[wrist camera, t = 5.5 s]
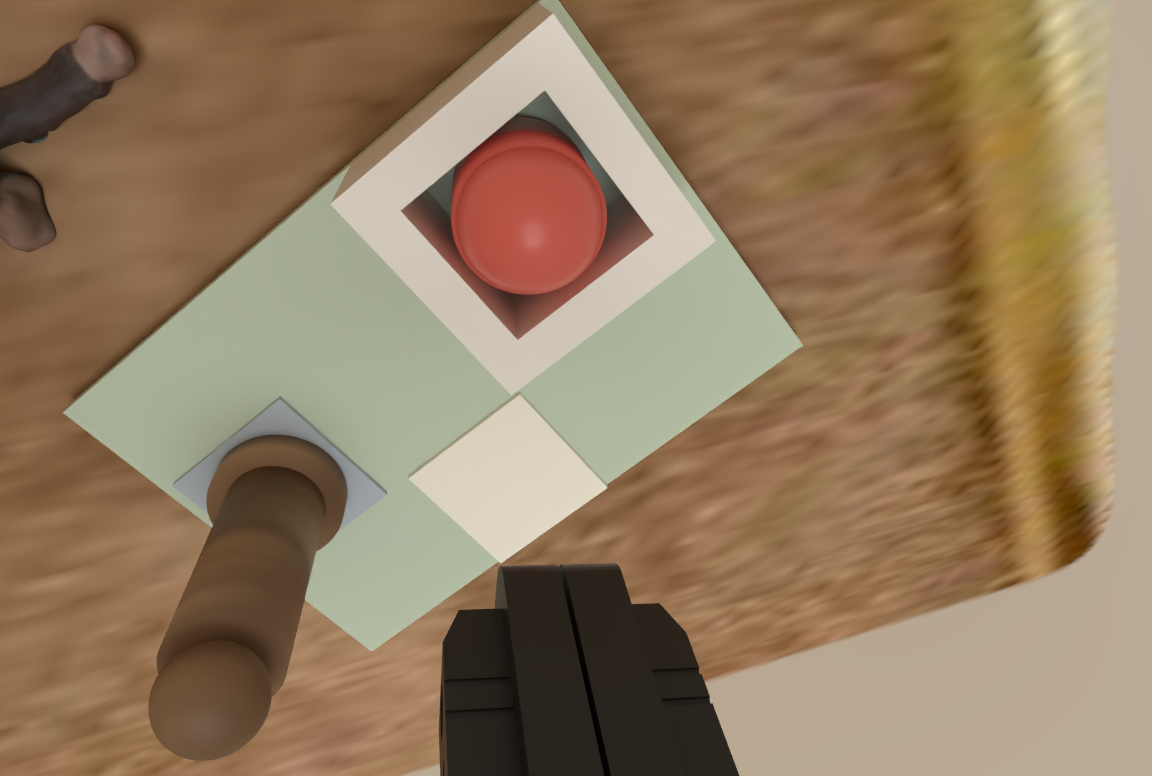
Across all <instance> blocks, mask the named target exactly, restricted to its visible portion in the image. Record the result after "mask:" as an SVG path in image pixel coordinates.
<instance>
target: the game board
mask: <svg viewBox="0 0 1152 776" xmlns="http://www.w3.org/2000/svg"><path fill="white" fill-rule="evenodd" d="M536 4H540V5H541V6H543V7H544V8H546V9H547V10H549V11H550V12H552V13H553V14H554V15H555V17H556V18H557V19H558V21H559V22H560V24H561V25H562V26H563V28H564V29H565V30H566V32H567V33H568V35H569V36H570V37H571V39H572V40H573V42H574V43H575V44H576V46H577V47H578V49H579V50H580V51H581V53H582V54H583V56H584V57H585V58H586V60H587V61H588V63H589V64H590V65H591V67H592V68H593V70H594V71H595V72H596V74H597V75H598V77H599V78H600V79H601V81H602V82H603V83H604V85H605V86H606V88H607V89H608V90H609V92H610V93H611V95H612V96H613V97H614V99H615V100H616V102H617V103H618V104H619V106H620V107H621V109H622V110H623V111H624V113H625V114H626V116H627V117H628V118H629V120H630V121H631V123H632V124H633V125H634V127H635V128H636V130H637V131H638V132H639V134H640V135H641V136H642V138H643V139H644V141H645V142H646V143H647V145H648V146H649V148H650V149H651V150H652V152H653V153H654V155H655V156H656V157H657V159H658V160H659V162H660V163H661V164H662V166H663V167H664V169H665V170H666V171H667V173H668V174H669V176H670V177H671V178H672V180H673V181H674V183H675V184H676V185H677V187H678V188H679V189H680V191H681V192H682V194H683V195H684V196H685V198H686V199H687V201H688V202H689V203H690V205H691V206H692V208H693V209H694V210H695V212H696V213H697V215H698V216H699V217H700V219H701V220H702V222H703V223H704V224H705V226H706V227H707V229H708V230H709V231H710V233H711V234H712V236H713V237H714V238H715V240H716V242H714V243H713V244H712V245H710V246H709V247H708V248H706V249H705V250H704V251H702V252H701V253H700V254H698V255H697V256H696V257H694V258H693V259H692V260H690V261H689V262H688V263H686V264H685V265H684V266H682V267H681V268H680V269H679V270H677V271H676V272H675V273H673V274H672V275H671V276H669V277H668V278H667V279H665V280H664V281H663V282H661V283H660V284H659V285H657V286H656V287H655V288H653V289H652V290H651V291H649V292H648V293H647V294H645V295H644V296H643V297H641V298H640V299H639V300H637V301H636V302H635V303H634V304H632V305H631V306H630V307H628V308H627V309H626V310H624V311H623V312H622V313H620V314H619V315H618V316H616V317H615V318H614V319H612V320H611V321H610V322H608V323H607V324H606V325H604V326H603V327H602V328H600V329H599V330H598V331H596V332H595V333H594V334H592V335H591V336H590V337H588V338H587V339H586V340H585V341H583V342H582V343H581V344H579V345H578V346H577V347H575V348H574V349H573V350H571V351H570V352H569V353H567V354H566V355H565V356H563V357H562V358H561V359H559V360H558V361H557V362H555V363H554V364H553V365H551V366H550V367H549V368H547V369H546V370H545V371H543V372H542V373H541V374H539V375H538V376H537V377H536V378H534V379H533V380H532V381H530V382H529V383H528V384H526V385H525V386H524V387H522V388H521V389H520V390H518V391H517V392H516V393H514V394H513V395H512V396H511V394H510V393H509V392H508V391H507V390H506V389H505V388H504V387H503V386H502V385H501V384H500V383H499V382H498V381H497V380H496V379H495V378H494V377H493V375H492V374H491V373H490V372H489V371H488V370H487V369H486V368H485V367H484V366H483V365H482V364H481V363H480V362H479V361H478V360H477V359H476V358H475V356H474V355H473V354H472V353H471V352H470V351H469V350H468V349H467V348H466V347H465V346H464V345H463V344H462V343H461V342H460V341H459V340H458V339H457V337H456V336H455V335H454V334H453V333H452V332H451V331H450V330H449V329H448V328H447V327H446V326H445V325H444V324H443V323H442V322H441V321H440V320H439V318H438V317H437V316H436V315H435V314H434V313H433V312H432V311H431V310H430V309H429V308H428V307H427V306H426V305H425V304H424V303H423V302H422V301H421V299H420V298H419V297H418V296H417V295H416V294H415V293H414V292H413V291H412V290H411V289H410V288H409V287H408V286H407V285H406V284H405V283H404V282H403V280H402V279H401V278H400V277H399V276H398V275H397V274H396V273H395V272H394V271H393V270H392V269H391V268H390V267H389V266H388V265H387V264H386V263H385V261H384V260H383V259H382V258H381V257H380V256H379V255H378V254H377V253H376V252H375V251H374V250H373V249H372V248H371V247H370V246H369V245H368V244H367V243H366V241H365V240H364V239H363V238H362V237H361V236H360V235H359V234H358V233H357V232H356V231H355V230H354V229H353V228H352V227H351V226H350V225H349V224H348V222H347V221H346V220H345V219H344V218H343V217H342V216H341V215H340V214H339V213H338V212H337V211H336V210H335V209H334V208H333V207H332V206H331V205H330V203H331V201H332V200H333V198H334V196H335V194H336V192H337V190H338V188H339V186H340V184H341V182H342V181H343V179H344V177H345V175H346V173H347V171H348V169H349V167H350V165H351V164H352V163H353V162H354V161H355V160H357V159H358V158H359V157H360V156H361V155H362V154H364V153H365V152H366V151H367V150H368V149H369V148H370V147H372V146H373V145H374V144H375V143H376V142H377V141H379V140H380V139H381V138H382V137H383V136H384V135H386V134H387V133H388V132H389V131H390V130H391V129H393V128H394V127H395V126H396V125H397V124H398V123H400V122H401V121H402V120H403V119H404V118H405V117H406V116H408V115H409V114H410V113H411V112H412V111H413V110H415V109H416V108H417V107H418V106H419V105H420V104H422V103H423V102H424V101H425V100H426V99H427V98H429V97H430V96H431V95H432V94H433V93H434V92H435V91H437V90H438V89H439V88H440V87H441V86H442V85H444V84H445V83H446V82H447V81H448V80H449V79H451V78H452V77H453V76H454V75H455V74H456V73H458V72H459V71H460V70H461V69H462V68H463V67H464V66H466V65H467V64H468V63H469V62H470V61H471V60H473V59H474V58H475V57H476V56H477V55H478V54H480V53H481V52H482V51H483V50H484V49H485V48H487V47H488V46H489V45H490V44H491V43H492V42H493V41H495V40H496V39H497V38H498V37H499V36H500V35H502V34H503V33H504V32H505V31H506V30H507V29H509V28H510V27H511V26H512V25H513V24H514V23H516V22H517V21H518V20H519V19H520V18H521V17H522V16H524V15H525V14H526V13H527V12H528V11H529V10H531V9H532V8H533V7H534V6H535V5H536ZM515 117H528V118H534V119H538V120H541V121H545V122H547V123H549V124H551V125H553V126H555V127H557V128H558V129H560V130H561V131H563V132H564V133H565V134H566V135H567V136H568V137H569V138H570V139H571V140H572V141H573V142H574V143H575V145H576V146H577V148H578V149H579V151H580V153H581V154H582V156H583V158H584V159H585V161H586V163H587V164H588V166H589V168H590V169H591V171H592V173H593V174H594V176H595V178H596V179H597V181H598V183H599V185H600V187H601V189H602V192H603V195H604V199H605V204H606V207H607V206H609V205H610V204H611V203H612V202H614V201H615V200H616V199H617V198H619V197H620V196H621V195H623V193H622V192H621V190H620V189H619V188H618V187H617V185H616V184H615V183H614V181H613V180H612V179H611V177H610V176H609V175H608V173H607V172H606V171H605V169H604V168H603V167H602V165H601V164H600V163H599V161H598V160H597V159H596V157H595V156H594V155H593V153H592V152H591V151H590V149H589V148H588V147H587V145H586V144H585V143H584V141H583V140H582V139H581V137H580V136H579V135H578V134H577V132H576V131H575V130H574V128H573V127H572V126H571V124H570V123H569V122H568V120H567V119H566V118H565V116H564V115H563V114H562V112H561V111H560V110H559V108H558V107H557V106H556V104H555V103H554V102H553V100H552V99H551V98H550V96H549V95H548V94H547V92H546V91H545V90H544V91H543V92H542V93H541V94H540V95H539V96H537V97H536V98H535V99H534V100H533V101H531V102H530V103H529V104H528V105H527V106H525V107H524V108H523V109H522V110H521V111H519V112H518V113H517V114H516V115H515V116H513V117H512V118H515ZM455 166H456V165H455ZM455 166H454V167H452V168H451V169H450V170H449V171H448V172H446V173H445V174H444V175H443V176H442V177H440V178H439V179H438V180H437V181H436V182H434V183H433V184H432V185H431V186H430V187H428V188H427V190H428V191H429V192H430V194H431V195H432V196H433V197H434V198H435V199H436V200H437V202H438V203H439V204H440V205H441V206H442V207H443V208H444V210H445V211H446V212H447V213H448V214H449V215H450V216H451V209H452V185H453V174H454V169H455ZM801 346H803V345H802V343H801V342H800V340H799V339H798V337H797V336H796V335H795V333H794V332H793V330H792V329H791V328H790V326H789V325H788V323H787V322H786V321H785V319H784V318H783V316H782V315H781V314H780V312H779V311H778V309H777V308H776V306H775V305H774V304H773V302H772V301H771V299H770V298H769V297H768V295H767V294H766V292H765V291H764V290H763V288H762V287H761V285H760V284H759V282H758V281H757V280H756V278H755V277H754V275H753V274H752V273H751V271H750V270H749V268H748V267H747V266H746V264H745V263H744V261H743V260H742V258H741V257H740V256H739V254H738V253H737V251H736V250H735V249H734V247H733V246H732V244H731V243H730V242H729V240H728V239H727V237H726V236H725V234H724V233H723V232H722V230H721V229H720V227H719V226H718V225H717V223H716V222H715V220H714V219H713V218H712V216H711V215H710V213H709V212H708V210H707V209H706V208H705V206H704V205H703V203H702V202H701V201H700V199H699V198H698V196H697V195H696V194H695V192H694V191H693V189H692V188H691V186H690V185H689V184H688V182H687V181H686V179H685V178H684V177H683V175H682V174H681V172H680V171H679V170H678V168H677V167H676V165H675V164H674V163H673V161H672V160H671V158H670V157H669V155H668V154H667V153H666V151H665V150H664V148H663V147H662V146H661V144H660V143H659V141H658V140H657V139H656V137H655V136H654V134H653V133H652V131H651V130H650V129H649V127H648V126H647V124H646V123H645V122H644V120H643V119H642V117H641V116H640V115H639V113H638V112H637V110H636V109H635V107H634V106H633V105H632V103H631V102H630V100H629V99H628V98H627V96H626V95H625V93H624V92H623V91H622V89H621V88H620V86H619V85H618V83H617V82H616V81H615V79H614V78H613V76H612V75H611V74H610V72H609V71H608V69H607V68H606V67H605V65H604V64H603V62H602V61H601V59H600V58H599V57H598V55H597V54H596V52H595V51H594V50H593V48H592V47H591V45H590V44H589V43H588V41H587V40H586V38H585V37H584V35H583V34H582V33H581V31H580V30H579V28H578V27H577V26H576V24H575V23H574V21H573V20H572V19H571V17H570V16H569V14H568V13H567V12H566V10H565V9H564V7H563V6H562V4H561V3H560V2H559V0H537V1H536V2H535V3H534V4H533V5H531V6H530V7H529V8H528V9H527V10H526V11H524V12H523V13H522V14H521V15H520V16H519V17H517V18H516V19H515V20H514V21H513V22H512V23H511V24H509V25H508V26H507V27H506V28H505V29H504V30H502V31H501V32H500V33H499V34H498V35H497V36H495V37H494V38H493V39H492V40H491V41H490V42H488V43H487V44H486V45H485V46H484V47H483V48H482V49H480V50H479V51H478V52H477V53H476V54H475V55H473V56H472V57H471V58H470V59H469V60H468V61H466V62H465V63H464V64H463V65H462V66H461V67H460V68H458V69H457V70H456V71H455V72H454V73H453V74H451V75H450V76H449V77H448V78H447V79H446V80H444V81H443V82H442V83H441V84H440V85H439V86H437V87H436V88H435V89H434V90H433V91H432V92H431V93H429V94H428V95H427V96H426V97H425V98H424V99H422V100H421V101H420V102H419V103H418V104H417V105H415V106H414V107H413V108H412V109H411V110H410V111H409V112H407V113H406V114H405V115H404V116H403V117H402V118H400V119H399V120H398V121H397V122H396V123H395V124H393V125H392V126H391V127H390V128H389V129H388V130H387V131H385V132H384V133H383V134H382V135H381V136H380V137H378V138H377V139H376V140H375V141H374V142H373V143H371V144H370V145H369V146H368V147H367V148H366V149H364V150H363V151H362V152H361V153H360V154H359V155H358V156H356V157H355V158H354V159H353V160H352V161H351V162H349V163H348V164H347V165H346V166H345V167H344V168H342V169H341V170H340V171H339V172H338V173H337V174H336V175H334V176H333V177H332V178H331V179H330V180H329V181H327V182H326V183H325V184H324V185H323V186H322V187H320V188H319V189H318V190H317V191H316V192H315V193H313V194H312V195H311V196H310V197H309V198H308V199H307V200H305V201H304V202H303V203H302V204H301V205H300V206H298V207H297V208H296V209H295V210H294V211H293V212H291V213H290V214H289V215H288V216H287V217H286V218H285V219H283V220H282V221H281V222H280V223H279V224H278V225H276V226H275V227H274V228H273V229H272V230H271V231H269V232H268V233H267V234H266V235H265V236H264V237H262V238H261V239H260V240H259V241H258V242H257V243H256V244H254V245H253V246H252V247H251V248H250V249H249V250H247V251H246V252H245V253H244V254H243V255H242V256H240V257H239V258H238V259H237V260H236V261H235V262H234V263H232V264H231V265H230V266H229V267H228V268H227V269H225V270H224V271H223V272H222V273H221V274H220V275H218V276H217V277H216V278H215V279H214V280H213V281H211V282H210V283H209V284H208V285H207V286H206V287H205V288H203V289H202V290H201V291H200V292H199V293H198V294H196V295H195V296H194V297H193V298H192V299H191V300H189V301H188V302H187V303H186V304H185V305H184V306H183V307H181V308H180V309H179V310H178V311H177V312H176V313H174V314H173V315H172V316H171V317H170V318H169V319H167V320H166V321H165V322H164V323H163V324H162V325H161V326H159V327H158V328H157V329H156V330H155V331H154V332H152V333H151V334H150V335H149V336H148V337H147V338H145V339H144V340H143V341H142V342H141V343H140V344H138V345H137V346H136V347H135V348H134V349H133V350H132V351H130V352H129V353H128V354H127V355H126V356H125V357H123V358H122V359H121V360H120V361H119V362H118V363H116V364H115V365H114V366H113V367H112V368H111V369H110V370H108V371H107V372H106V373H105V374H104V375H103V376H101V377H100V378H99V379H98V380H97V381H96V382H94V383H93V384H92V385H91V386H90V387H89V388H87V389H86V390H85V391H84V392H83V393H82V394H81V395H79V396H78V397H77V398H76V399H75V400H74V401H73V402H72V403H71V404H70V405H69V406H68V407H67V408H66V410H65V411H64V412H63V413H64V414H65V415H66V416H68V417H69V418H70V419H72V420H73V421H74V422H76V423H77V424H78V425H79V426H81V427H82V428H83V429H85V430H86V431H87V432H88V433H90V434H91V435H92V436H94V437H95V438H96V439H97V440H99V441H100V442H101V443H103V444H104V445H105V446H107V447H108V448H109V449H110V450H112V451H113V452H114V453H116V454H117V455H118V456H119V457H121V458H122V459H123V460H125V461H126V462H127V463H128V464H130V465H131V466H132V467H134V468H135V469H136V470H138V471H139V472H140V473H141V474H143V475H144V476H145V477H147V478H148V479H149V480H150V481H152V482H153V483H154V484H156V485H157V486H158V487H159V488H161V489H162V490H163V491H165V492H166V493H167V494H169V495H170V496H171V497H172V498H174V499H175V500H176V501H178V502H179V503H180V504H181V505H183V506H184V507H185V508H187V509H188V510H189V511H190V512H192V513H193V514H194V515H196V516H197V517H198V518H200V519H201V520H202V521H203V522H205V523H206V524H207V525H209V526H210V527H211V528H212V527H213V524H212V522H211V520H210V518H209V515H208V512H207V505H206V497H207V491H208V488H209V485H210V483H211V480H212V478H213V476H214V474H215V472H216V470H217V468H218V466H219V464H220V462H221V460H222V459H223V458H224V457H225V455H226V454H227V453H228V452H229V451H230V450H232V449H233V448H234V447H236V446H237V445H239V444H240V443H242V442H244V441H246V440H249V439H252V438H255V437H259V436H265V435H288V436H293V437H298V438H301V439H304V440H307V441H309V442H311V443H313V444H315V445H317V446H319V447H320V448H322V449H323V450H324V451H326V452H327V453H328V454H329V455H330V456H331V457H332V458H333V459H334V460H335V461H336V462H337V464H338V465H339V466H340V468H341V470H342V472H343V474H344V476H345V479H346V483H347V491H348V494H347V502H346V507H345V512H344V517H343V520H342V524H341V526H340V528H339V530H338V532H337V534H336V535H335V536H334V538H333V539H332V540H331V541H330V542H329V543H328V544H327V545H325V546H324V547H323V548H321V549H320V550H318V551H316V554H315V559H314V563H313V567H312V571H311V575H310V579H309V583H308V587H307V591H306V595H305V601H307V602H308V603H309V604H311V605H312V606H313V607H314V608H316V609H317V610H318V611H320V612H321V613H322V614H324V615H325V616H326V617H327V618H329V619H330V620H331V621H333V622H334V623H335V624H336V625H338V626H339V627H340V628H342V629H343V630H344V631H345V632H347V633H348V634H349V635H351V636H352V637H353V638H355V639H356V640H357V641H358V642H360V643H361V644H362V645H364V646H365V647H366V648H367V649H369V650H370V651H371V652H372V651H373V650H375V649H376V648H377V647H379V646H380V645H382V644H383V643H384V642H386V641H387V640H389V639H390V638H392V637H393V636H394V635H396V634H397V633H399V632H400V631H401V630H403V629H404V628H406V627H407V626H408V625H410V624H411V623H413V622H414V621H415V620H417V619H418V618H420V617H421V616H423V615H424V614H425V613H427V612H428V611H430V610H431V609H432V608H434V607H435V606H437V605H438V604H439V603H441V602H442V601H444V600H445V599H446V598H448V597H449V596H451V595H452V594H453V593H455V592H456V591H458V590H459V589H461V588H462V587H463V586H465V585H466V584H468V583H469V582H470V581H472V580H473V579H475V578H476V577H477V576H479V575H480V574H482V573H483V572H484V571H486V570H487V569H489V568H490V567H492V566H493V565H494V564H496V563H497V562H500V563H502V562H504V561H505V560H506V559H508V558H509V557H511V556H512V555H513V554H515V553H516V552H518V551H519V550H520V549H522V548H523V547H525V546H526V545H527V544H529V543H530V542H532V541H533V540H535V539H536V538H537V537H539V536H540V535H542V534H543V533H544V532H546V531H547V530H549V529H550V528H551V527H553V526H554V525H556V524H557V523H559V522H560V521H561V520H563V519H564V518H566V517H567V516H568V515H570V514H571V513H573V512H574V511H575V510H577V509H578V508H580V507H581V506H582V505H584V504H585V503H587V502H588V501H590V500H591V499H592V498H594V497H595V496H597V495H598V494H599V493H601V492H602V491H604V490H605V489H606V488H607V484H608V483H610V482H611V481H613V480H614V479H615V478H617V477H618V476H620V475H621V474H622V473H624V472H625V471H627V470H628V469H630V468H631V467H632V466H634V465H635V464H637V463H638V462H639V461H641V460H642V459H644V458H645V457H646V456H648V455H649V454H651V453H652V452H653V451H655V450H656V449H658V448H659V447H660V446H662V445H663V444H665V443H666V442H668V441H669V440H670V439H672V438H673V437H675V436H676V435H677V434H679V433H680V432H682V431H683V430H684V429H686V428H687V427H689V426H690V425H691V424H693V423H694V422H696V421H697V420H699V419H700V418H701V417H703V416H704V415H706V414H707V413H708V412H710V411H711V410H713V409H714V408H715V407H717V406H718V405H720V404H721V403H722V402H724V401H725V400H727V399H728V398H729V397H731V396H732V395H734V394H735V393H737V392H738V391H739V390H741V389H742V388H744V387H745V386H746V385H748V384H749V383H751V382H752V381H753V380H755V379H756V378H758V377H759V376H760V375H762V374H763V373H765V372H766V371H768V370H769V369H770V368H772V367H773V366H775V365H776V364H777V363H779V362H780V361H782V360H783V359H784V358H786V357H787V356H789V355H790V354H791V353H793V352H794V351H796V350H797V349H798V348H800V347H801Z"/></svg>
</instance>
